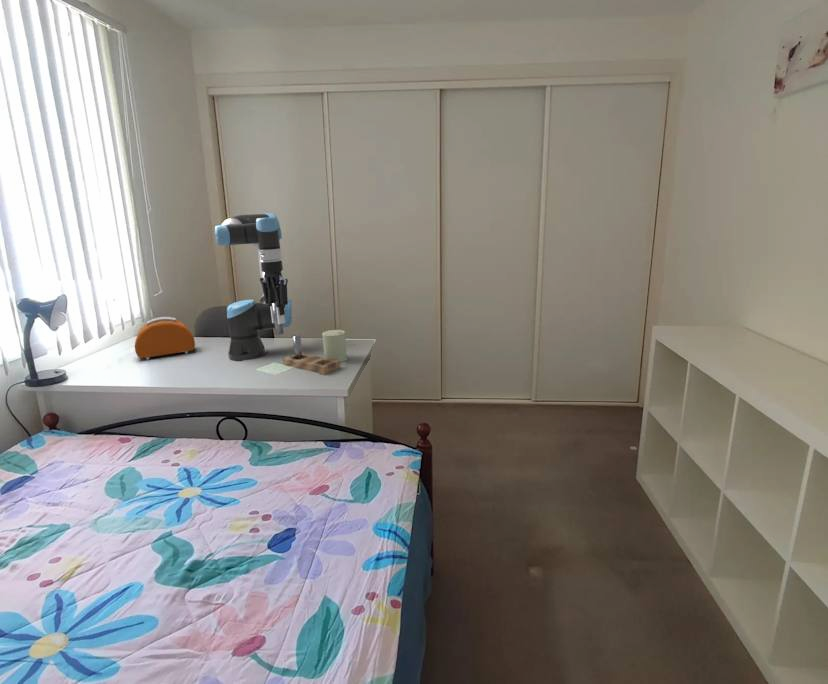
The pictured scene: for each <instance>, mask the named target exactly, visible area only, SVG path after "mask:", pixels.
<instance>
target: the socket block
mask: <svg viewBox="0 0 828 684" xmlns="http://www.w3.org/2000/svg"><path fill="white" fill-rule="evenodd" d="M302 354H303V358H302V359H300V360H298V359H295V353H294V354H291V355H289V356H286V357H284V358H282V364H283V365H285V366H290V367H294V368H293V369H298V370H304V371H309V372H313V373H318V374H319V375H323V376H324V375H327V374H330V373H332V372H334V371H337V370H339V369H341V362H340V361H339V360H334V359H329V358H325V357H324V356H318V355H313V354H308V353H303V352H302Z"/></svg>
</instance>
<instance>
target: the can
mask: <svg viewBox="0 0 828 684" xmlns="http://www.w3.org/2000/svg"><path fill="white" fill-rule="evenodd" d="M321 334H322V335H321V336H322V346H323V355H324V356H323V357H324V358H329V359H334V360H339V361H340V363H341V362H346V361H347V360H348V357H347V356H348V355H347V346H346V345H347V344H346V332H345V330H343V329H331V330H330V329H329V330H326V331H323V332H322V333H321Z"/></svg>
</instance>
